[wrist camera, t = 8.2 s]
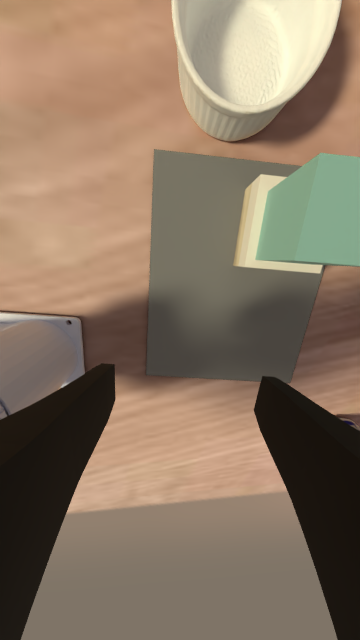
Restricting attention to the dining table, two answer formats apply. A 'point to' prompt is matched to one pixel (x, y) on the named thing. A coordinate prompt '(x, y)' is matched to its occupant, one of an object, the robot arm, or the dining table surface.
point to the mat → (217, 278)
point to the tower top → (254, 227)
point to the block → (314, 214)
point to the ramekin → (248, 58)
